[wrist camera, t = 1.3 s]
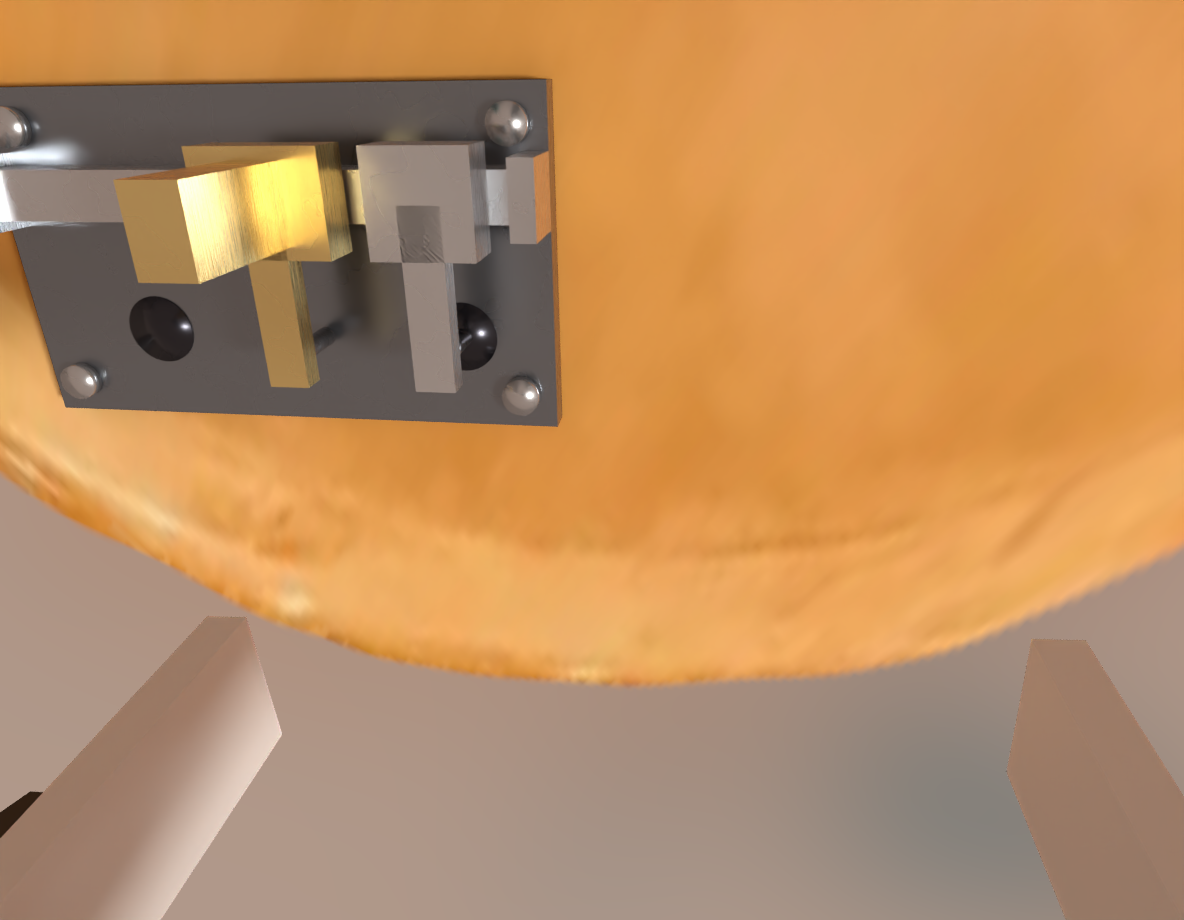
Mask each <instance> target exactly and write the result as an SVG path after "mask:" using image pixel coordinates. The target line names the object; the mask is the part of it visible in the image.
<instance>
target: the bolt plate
mask: <svg viewBox="0 0 1184 920" xmlns="http://www.w3.org/2000/svg"><path fill="white" fill-rule="evenodd" d="M378 141H484V145H485V161H486V165H506V157H508V156H511V155H514V154H516V153H519V152H522V151H549V178H550V209H551V231H550V232H549V233H548V234H547V235H546V236H545V237H544V238H543V239H542V240H541V241H540V242H539V243H537V244H510V230H509V225H490V240H491V253H489V254H488V255H487V256H486V257H484V258H483V259H482V260H481V261H479V262H478V263H477V264H467V263H453V274H454V286H455V298H456V310H457V322H458V329H460V328H464V329H466V330H468V331H469V332H470V333H471V336H472V341H471V343H470V344H469V345H468V346H467V347H466V348H465V350H464V351H463V352H462V353H461V354H460V358H461V370H462V382H463V385H462V386H461V387H460V388H459V390H458V391H457V392H456V393H438V392H416V388H415V379H414V370H413V361H412V351H411V342H410V333H409V324H408V315H407V306H406V296H405V287H404V278H403V269H402V263H396V262H370V256H369V248H368V240H367V232H366V224H349V227H350V235H351V242H352V250H353V251H352V252H350V253H348V254H346V255H344V256H342V257H340V258H338V259H336V260H334V261H332V262H325V261H301V265H302V271H303V278H304V284H305V290H306V296H307V303H308V309H309V315H310V321H311V328H312V334H313V333H314V332H316V331H317V330H319V329H321V328H323V327H327V328H330V329H331V330H332V331H333V332H334V334H335V341H334V343H333V344H331V345H330V346H328V347H327V348H326V349H324V350H323V351H321V352H320V353H318V354H317V355H316V359H317V365H318V371H319V377H320V380H319V381H318V382H316V383H315V384H314V385H312V386H311V387H310V388H293V387H271V384H270V378H269V373H268V368H267V362H266V357H265V352H264V346H263V341H262V336H261V330H260V325H259V320H258V314H257V309H256V304H255V298H254V293H253V288H252V282H251V277H250V272H249V266H248V265H245V266H243V267H240V268H238V269H235V270H233V271H230V272H228V273H225V274H223V275H220V276H218V277H215V278H213V279H210V280H208V281H205V282H203V283H200V284H175V283H138V279H137V275H136V271H135V267H134V263H133V259H132V255H131V251H130V247H129V243H128V239H127V234H126V230H125V226H124V222H31V226H29V227H25V228H20V229H15V230H12V231H13V234H14V238H15V241H16V244H17V248H18V251H19V254H20V258H21V261H22V264H23V268H24V271H25V274H26V277H27V281H28V284H29V287H30V291H31V294H32V297H33V301H34V304H35V307H36V311H37V314H38V317H39V321H40V324H41V327H42V330H43V334H44V337H45V340H46V344H47V347H48V350H49V354H50V357H51V360H52V364H53V367H54V370H55V374H56V377H57V380H58V383H59V387H60V390H61V393H62V397H63V400H64V403H65V407H70V408H95V409H121V410H147V411H172V412H198V413H223V414H249V415H275V416H300V417H326V418H352V419H377V420H403V421H428V422H454V423H480V424H505V425H531V426H556V427H558V425H559V423H560V420H561V418H562V395H561V363H560V330H559V297H558V264H557V231H556V198H555V165H554V132H553V99H552V79H536V80H467V81H399V82H330V83H262V84H193V85H125V86H56V87H0V153H10V154H11V157H12V160H13V164H14V165H185V161H184V157H183V152H182V147H181V146H188V145H196V144H204V143H212V142H338V145H339V152H340V160H341V165H358V160H357V152H356V145H362V144H367V143H372V142H378Z"/></svg>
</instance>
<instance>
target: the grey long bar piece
mask: <svg viewBox="0 0 1184 920" xmlns="http://www.w3.org/2000/svg"><path fill="white" fill-rule="evenodd" d="M356 152H357V160H358V165H341V167H342V175H343V182H344V190H345V197H346V205H347V212H348V220H349V224H366V232H367V240H368V248H369V256H370V262H396V263H402V269H403V278H404V287H405V296H406V306H407V315H408V324H409V333H410V342H411V351H412V361H413V370H414V379H415V388H416V392H438V393H456V392H457V391H458V390H459V388H460V387H461V386H462V385H463V382H462V370H461V358H460V354H461V353H462V352H463V351H464V350H465V348H466V347H467V346H468V345H469V344H470V343H471V341H472V336H471V333H470V332H469V331H468V330H466V329H464V328H460V329H458V322H457V310H456V298H455V286H454V274H453V263H467V264H477V263H478V262H479V261H481V260H482V259H483V258H484V257H486V256H487V255H488V254H489V253H491V240H490V225H509V230H510V244H537V243H539V242H540V241H541V240H542V239H543V238H544V237H545V236H546V235H547V234H548V233H549V232H550V231H551V209H550V178H549V151H522V152H519V153H516V154H514V155H511V156H508V157H506V165H486V161H485V145H484V141H378V142H372V143H367V144H362V145H356ZM180 168H186V166H185V165H14V164H13V160H12V157H11V154H10V153H0V233H1V232H6V231H11V230H15V229H20V228H25V227H29V226H31V222H123V218H122V214H121V210H120V206H119V202H118V198H117V194H116V190H115V186H114V181H113V180H115V179H121V178H127V177H133V176H139V175H145V174H151V173H157V172H162V171H168V170H174V169H180Z"/></svg>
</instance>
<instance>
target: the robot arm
mask: <svg viewBox="0 0 1184 920" xmlns="http://www.w3.org/2000/svg"><path fill="white" fill-rule="evenodd" d="M281 736H282V732H281V730H280V726H279V723H278V719H277V716H276V713H275V709H274V706H273V703H272V700H271V697H270V693H269V690H268V687H267V683H266V680H265V677H264V674H263V671H262V667H261V664H260V661H259V657H258V654H257V651H256V648H255V644H254V641H253V638H252V635H251V631H250V628H249V625H248V621H247V618H246V617H211V616H208V617H206V618H205V619H204V620H203V622H202V623H201V624H200V625H199V626H198V627H197V628H196V629H195V630H194V631H193V632H192V633H191V634H190V635H189V637H188V638H187V639H186V640H185V641H184V642H183V643H182V644H181V645H180V646H179V647H178V648H177V649H176V650H175V652H174V653H173V654H172V655H171V656H170V657H169V658H168V659H167V660H166V661H165V662H164V663H163V664H162V666H161V667H160V668H159V669H158V670H157V671H156V672H155V673H154V674H153V675H152V676H151V677H150V678H149V680H148V681H147V682H146V683H145V684H144V685H143V686H142V687H141V688H140V689H139V690H138V691H137V692H136V693H135V695H134V696H133V697H132V698H131V699H130V700H129V701H128V702H127V703H126V704H125V705H124V706H123V707H122V708H121V710H120V711H119V712H118V713H117V714H116V715H115V716H114V717H113V718H112V719H111V720H110V721H109V722H108V723H107V725H106V726H105V727H104V728H103V729H102V730H101V731H100V732H99V733H98V734H97V735H96V736H95V737H94V738H93V740H92V741H91V742H90V743H89V744H88V745H87V746H86V747H85V748H84V749H83V750H82V751H81V752H80V754H79V755H78V756H77V757H76V758H75V759H74V760H73V761H72V762H71V763H70V764H69V765H68V766H67V768H66V769H65V770H64V771H63V772H62V773H61V774H60V775H59V776H58V777H57V778H56V779H55V780H54V781H53V782H52V784H51V785H50V786H49V787H48V788H47V789H46V790H45V791H44V792H29V793H28V794H26V795H25V796H23V797H22V798H20V799H19V800H17V801H16V802H15V803H13V804H12V805H10V806H9V807H7V808H6V809H5V810H3V811H2V812H0V920H161V918H162V917H163V915H164V914H165V912H166V911H167V909H168V908H169V906H170V904H171V903H172V901H173V900H174V899H175V897H176V895H177V894H178V892H179V891H180V889H181V888H182V886H183V885H184V883H185V882H186V880H187V879H188V877H189V876H190V874H191V873H192V871H193V870H194V868H195V866H196V865H197V863H198V862H199V860H200V859H201V857H202V856H203V854H204V853H205V851H206V850H207V848H208V847H209V845H210V844H211V842H212V841H213V839H214V838H215V836H216V835H217V833H218V832H219V830H220V828H221V827H222V825H223V824H224V822H225V821H226V819H227V818H228V816H229V815H230V813H231V812H232V810H233V809H234V807H235V805H236V804H237V803H238V801H239V800H240V798H241V796H242V795H243V793H244V792H245V790H246V789H247V787H248V786H249V784H250V783H251V781H252V780H253V778H254V777H255V775H256V774H257V772H258V771H259V769H260V767H261V766H262V765H263V763H264V761H265V760H266V758H267V757H268V755H269V754H270V752H271V751H272V749H273V748H274V746H275V744H276V743H277V742H278V740H279V739H280V737H281ZM1007 774H1008V777H1009V779H1010V782H1011V784H1012V787H1013V789H1014V792H1015V794H1016V797H1017V799H1018V802H1019V804H1020V807H1021V809H1022V812H1023V814H1024V817H1025V819H1026V822H1027V824H1028V827H1029V829H1030V832H1031V834H1032V837H1033V839H1034V841H1035V844H1036V847H1037V849H1038V852H1039V854H1040V857H1041V859H1042V862H1043V864H1044V867H1045V869H1046V872H1047V874H1048V877H1049V879H1050V882H1051V884H1052V887H1053V889H1054V892H1055V894H1056V897H1057V899H1058V901H1059V904H1060V907H1061V909H1062V912H1063V914H1064V916H1065V919H1066V920H1184V796H1183V794H1182V793H1181V791H1180V790H1179V788H1178V786H1177V785H1176V783H1175V782H1174V780H1173V778H1172V777H1171V775H1170V774H1169V772H1168V771H1167V769H1166V767H1165V766H1164V764H1163V762H1162V761H1161V759H1160V758H1159V756H1158V755H1157V753H1156V752H1155V750H1154V748H1153V747H1152V745H1151V744H1150V742H1149V740H1148V739H1147V737H1146V735H1145V734H1144V732H1143V731H1142V729H1141V728H1140V726H1139V725H1138V723H1137V721H1136V720H1135V718H1134V716H1133V715H1132V713H1131V712H1130V710H1129V708H1128V707H1127V705H1126V704H1125V702H1124V701H1123V699H1122V697H1121V696H1120V694H1119V693H1118V691H1117V690H1116V688H1115V686H1114V685H1113V683H1112V682H1111V680H1110V678H1109V677H1108V675H1107V674H1106V672H1105V670H1104V669H1103V667H1102V666H1101V664H1100V662H1099V661H1098V659H1097V658H1096V656H1095V654H1094V653H1093V651H1092V650H1091V648H1090V647H1089V645H1088V644H1087V642H1086V641H1085V640H1050V639H1032V640H1031V645H1030V651H1029V656H1028V661H1027V666H1026V672H1025V677H1024V682H1023V688H1022V693H1021V698H1020V703H1019V709H1018V714H1017V719H1016V724H1015V730H1014V736H1013V740H1012V746H1011V751H1010V757H1009V761H1008V767H1007Z"/></svg>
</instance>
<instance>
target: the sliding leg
mask: <svg viewBox="0 0 1184 920" xmlns="http://www.w3.org/2000/svg"><path fill="white" fill-rule="evenodd" d="M181 147H182V152H183V157H184V161H185V166H186V168H180V169H174V170H168V171H162V172H157V173H151V174H145V175H139V176H133V177H127V178H121V179H115V180H113V181H114V186H115V190H116V194H117V198H118V202H119V206H120V210H121V214H122V218H123V222H124V226H125V230H126V234H127V239H128V243H129V247H130V251H131V255H132V259H133V263H134V267H135V271H136V275H137V279H138V283H175V284H200V283H203V282H205V281H208V280H210V279H213V278H215V277H218V276H220V275H223V274H225V273H228V272H230V271H233V270H235V269H238V268H240V267H243V266H245V265H248V266H249V272H250V277H251V282H252V288H253V293H254V298H255V304H256V309H257V314H258V320H259V325H260V330H261V336H262V341H263V346H264V352H265V357H266V362H267V368H268V373H269V378H270V384H271V387H293V388H310V387H311V386H312V385H314V384H315V383H316V382H318V381H319V380H320V377H319V371H318V365H317V359H316V355H317V354H318V353H320V352H321V351H323V350H324V349H326V348H327V347H328V346H330V345H331V344H333V343H334V341H335V334H334V332H333V331H332V330H331V329H330V328H327V327H323V328H321V329H319V330H317V331H316V332H314V333H313V334H312V328H311V321H310V315H309V309H308V303H307V296H306V290H305V284H304V278H303V271H302V265H301V261H325V262H332V261H334V260H336V259H338V258H340V257H342V256H344V255H346V254H348V253H350V252H352V251H353V250H352V242H351V235H350V227H349V220H348V212H347V205H346V197H345V190H344V182H343V175H342V167H341V160H340V152H339V145H338V142H212V143H204V144H196V145H188V146H181Z"/></svg>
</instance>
